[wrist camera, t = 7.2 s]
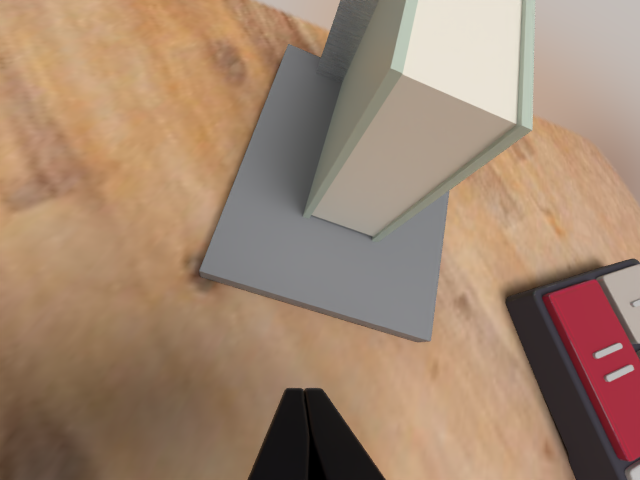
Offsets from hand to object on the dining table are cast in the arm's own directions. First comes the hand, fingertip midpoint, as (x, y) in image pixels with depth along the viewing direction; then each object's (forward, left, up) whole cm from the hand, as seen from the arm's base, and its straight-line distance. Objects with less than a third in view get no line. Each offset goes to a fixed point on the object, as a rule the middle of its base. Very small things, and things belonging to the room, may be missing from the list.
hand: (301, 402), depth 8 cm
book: (+4, -14, -11) cm, 18 cm away
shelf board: (+3, -13, -12) cm, 18 cm away
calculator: (-20, -15, -13) cm, 28 cm away
